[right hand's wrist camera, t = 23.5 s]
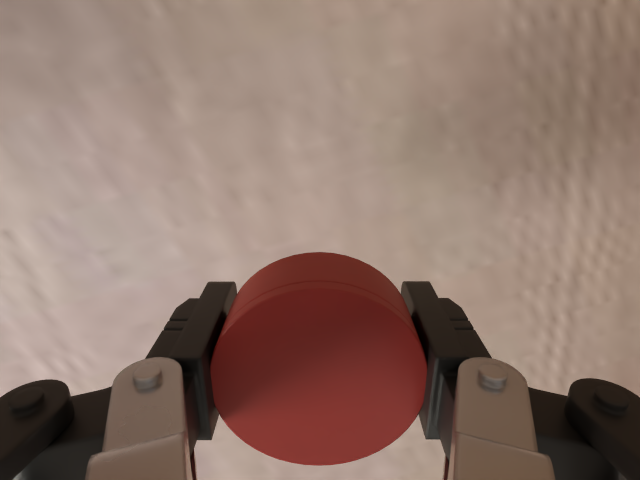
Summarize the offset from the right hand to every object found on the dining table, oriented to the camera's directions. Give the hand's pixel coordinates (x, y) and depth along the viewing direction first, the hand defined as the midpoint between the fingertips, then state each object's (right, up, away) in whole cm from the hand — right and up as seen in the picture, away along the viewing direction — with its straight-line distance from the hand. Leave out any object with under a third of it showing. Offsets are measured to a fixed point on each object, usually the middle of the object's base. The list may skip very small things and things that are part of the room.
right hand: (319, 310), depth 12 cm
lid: (0, -1, -3) cm, 3 cm away
